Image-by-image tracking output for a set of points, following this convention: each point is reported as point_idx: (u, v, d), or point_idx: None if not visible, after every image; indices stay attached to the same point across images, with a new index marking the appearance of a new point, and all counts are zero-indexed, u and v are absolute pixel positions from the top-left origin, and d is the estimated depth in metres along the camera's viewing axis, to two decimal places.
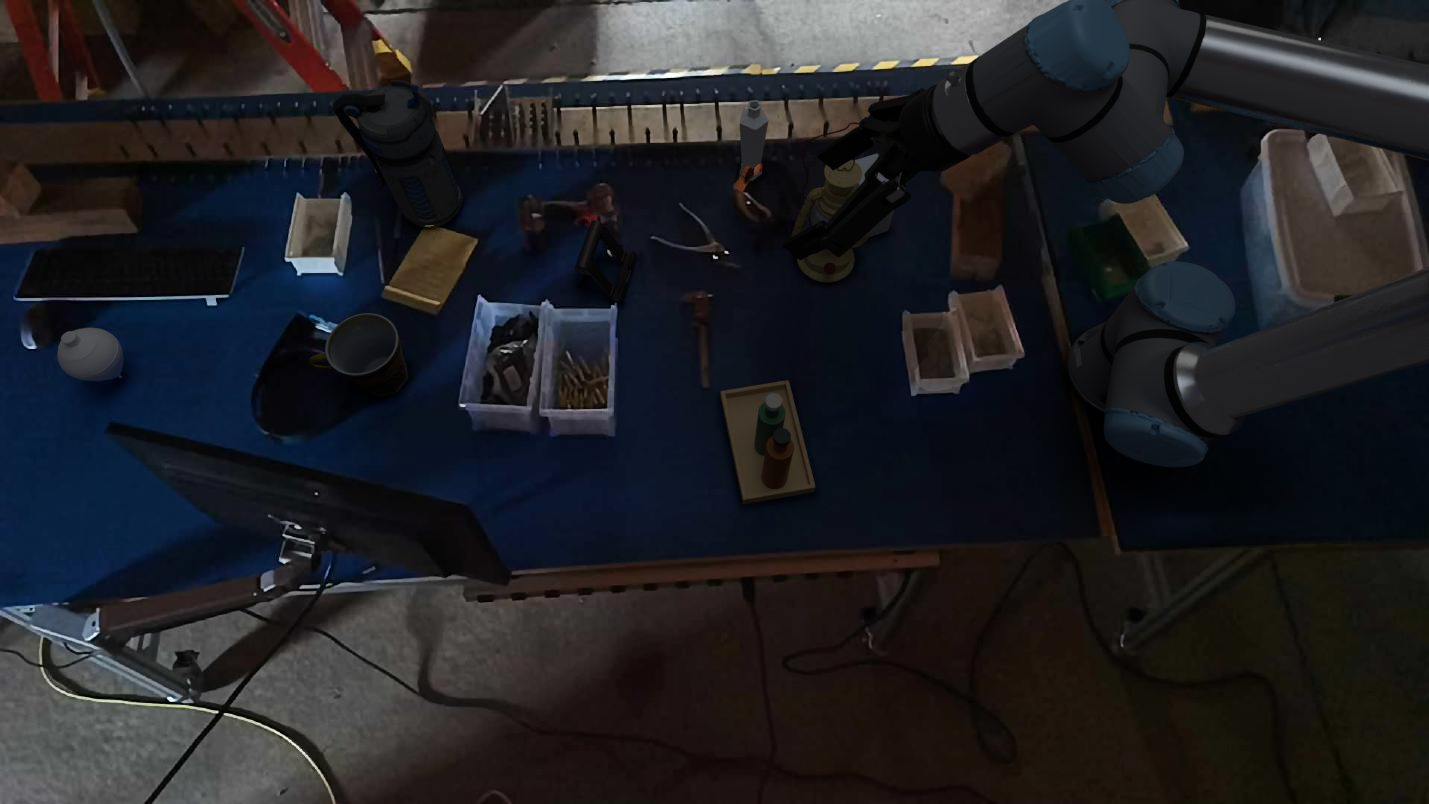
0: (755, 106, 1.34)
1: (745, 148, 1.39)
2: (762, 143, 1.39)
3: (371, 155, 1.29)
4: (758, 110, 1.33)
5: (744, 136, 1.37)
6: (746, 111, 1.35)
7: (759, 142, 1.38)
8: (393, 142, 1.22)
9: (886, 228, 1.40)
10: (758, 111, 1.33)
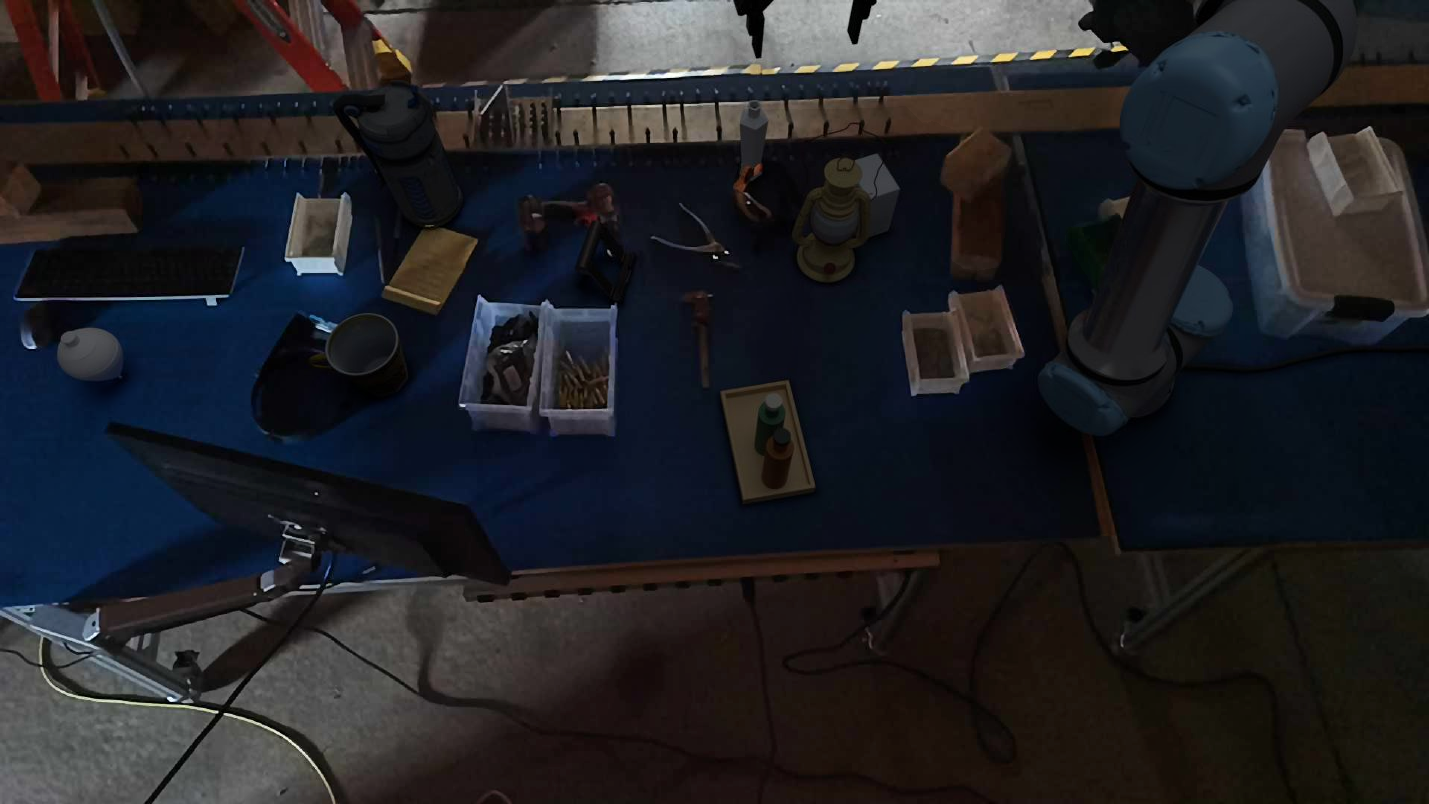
0: (755, 106, 1.34)
1: (745, 148, 1.39)
2: (762, 143, 1.39)
3: (371, 155, 1.29)
4: (758, 110, 1.33)
5: (744, 136, 1.37)
6: (746, 111, 1.35)
7: (759, 142, 1.38)
8: (393, 142, 1.22)
9: (886, 228, 1.40)
10: (758, 111, 1.33)
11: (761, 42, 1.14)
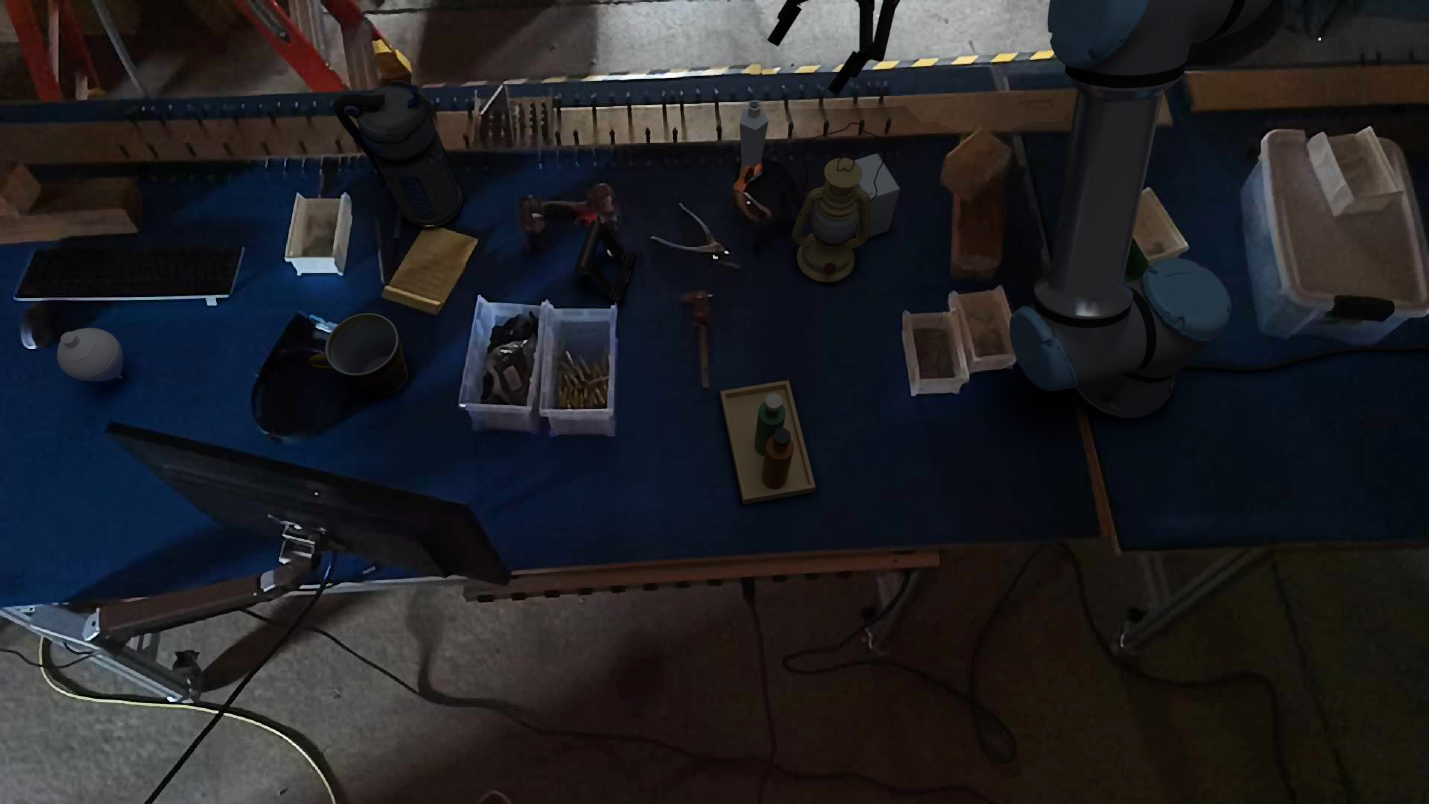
0: (755, 106, 1.34)
1: (745, 148, 1.39)
2: (762, 143, 1.39)
3: (371, 155, 1.29)
4: (758, 110, 1.33)
5: (744, 136, 1.37)
6: (746, 111, 1.35)
7: (759, 142, 1.38)
8: (393, 142, 1.22)
9: (886, 228, 1.40)
10: (758, 111, 1.33)
11: (779, 26, 1.34)
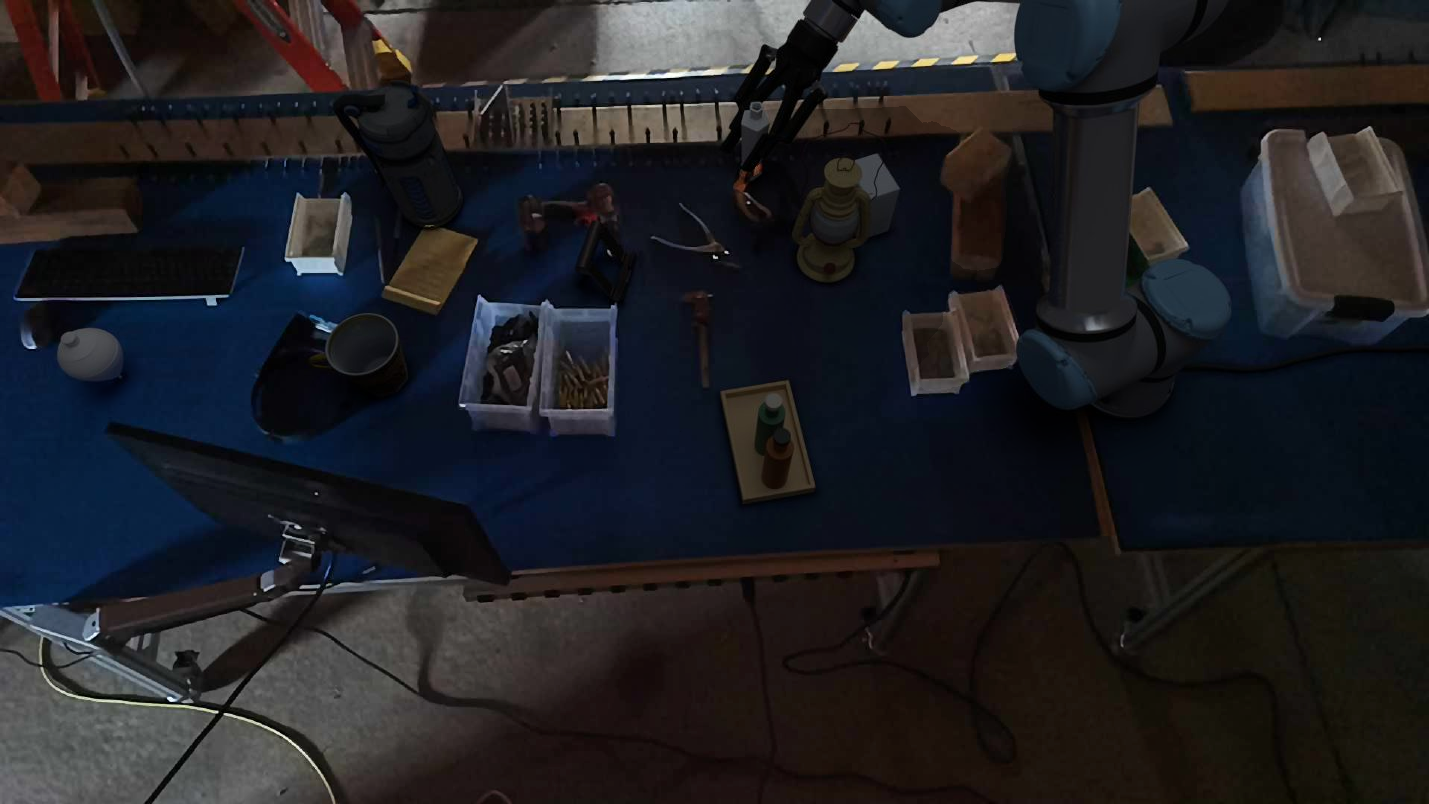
0: (757, 107, 1.34)
1: (746, 149, 1.39)
2: None
3: (371, 155, 1.29)
4: (760, 112, 1.33)
5: (745, 137, 1.37)
6: (748, 112, 1.35)
7: None
8: (393, 142, 1.22)
9: (886, 228, 1.40)
10: (760, 113, 1.33)
11: (730, 136, 1.39)
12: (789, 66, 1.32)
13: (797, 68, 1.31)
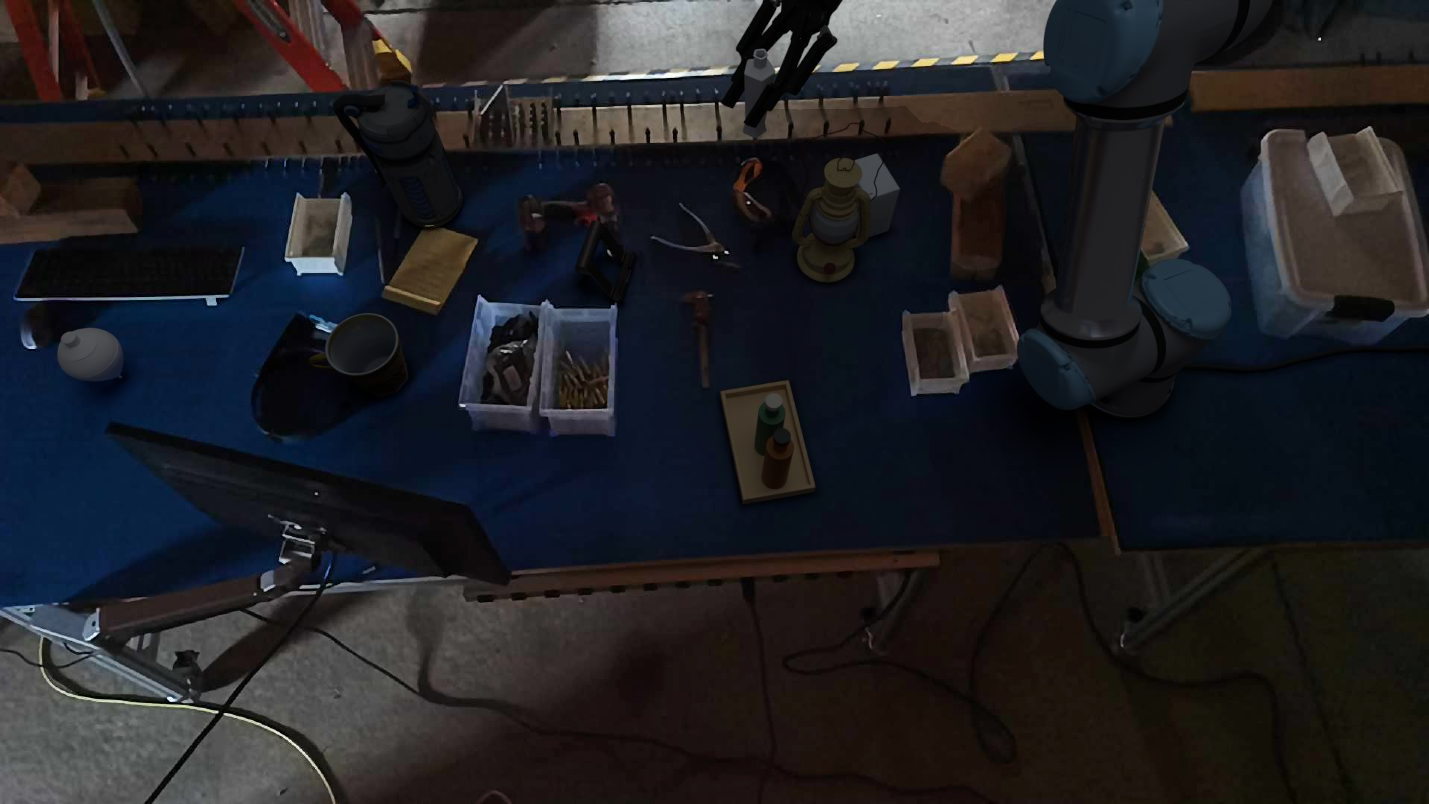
0: (761, 55, 1.25)
1: (750, 102, 1.30)
2: None
3: (371, 155, 1.29)
4: (764, 60, 1.24)
5: (749, 89, 1.28)
6: (751, 61, 1.26)
7: None
8: (393, 142, 1.22)
9: (886, 228, 1.40)
10: (764, 61, 1.24)
11: (732, 89, 1.30)
12: (795, 10, 1.23)
13: (804, 11, 1.22)
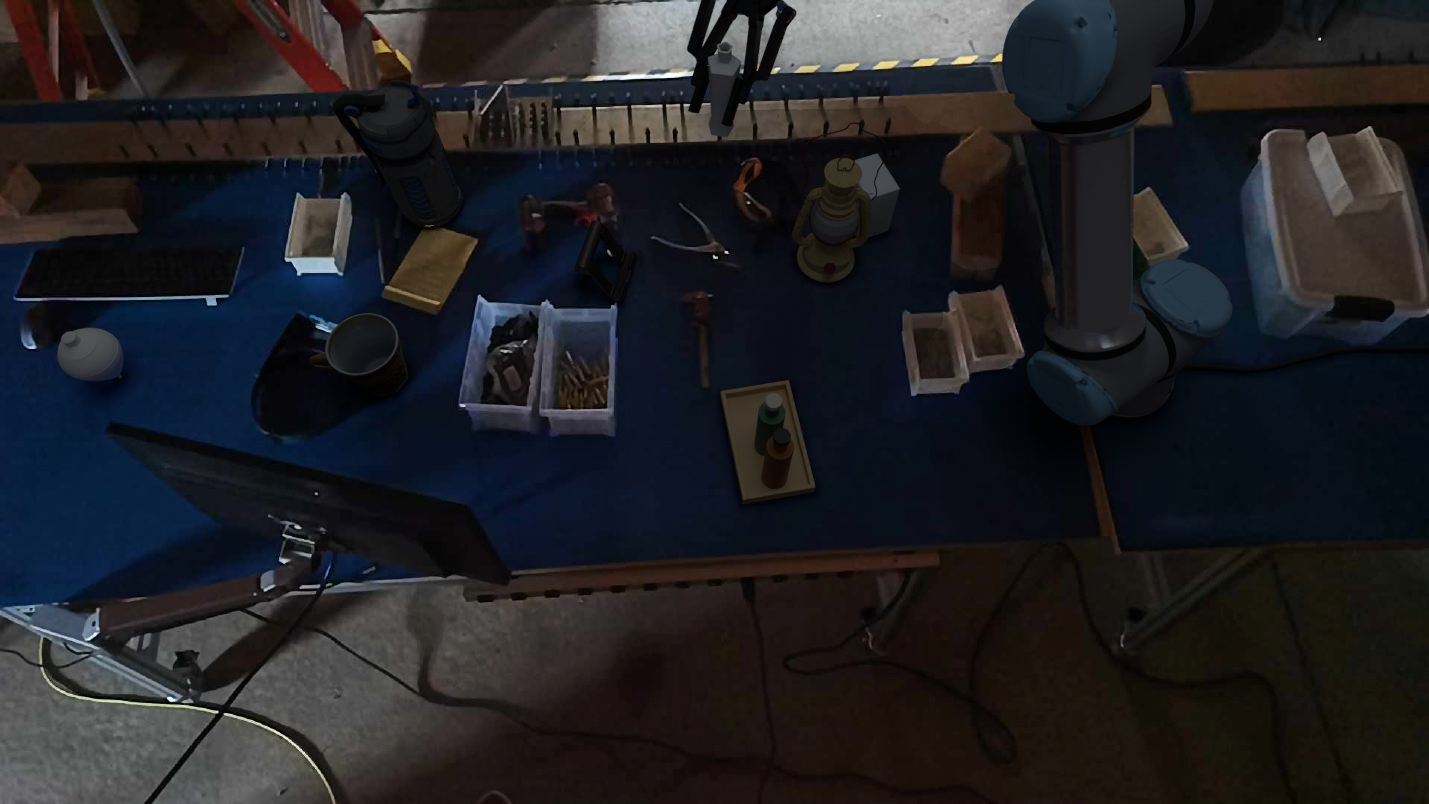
0: (723, 49, 1.16)
1: (719, 101, 1.21)
2: None
3: (371, 155, 1.29)
4: (730, 52, 1.15)
5: (717, 88, 1.19)
6: (714, 58, 1.17)
7: None
8: (393, 142, 1.22)
9: (886, 228, 1.40)
10: (730, 53, 1.15)
11: (697, 93, 1.20)
12: None
13: None
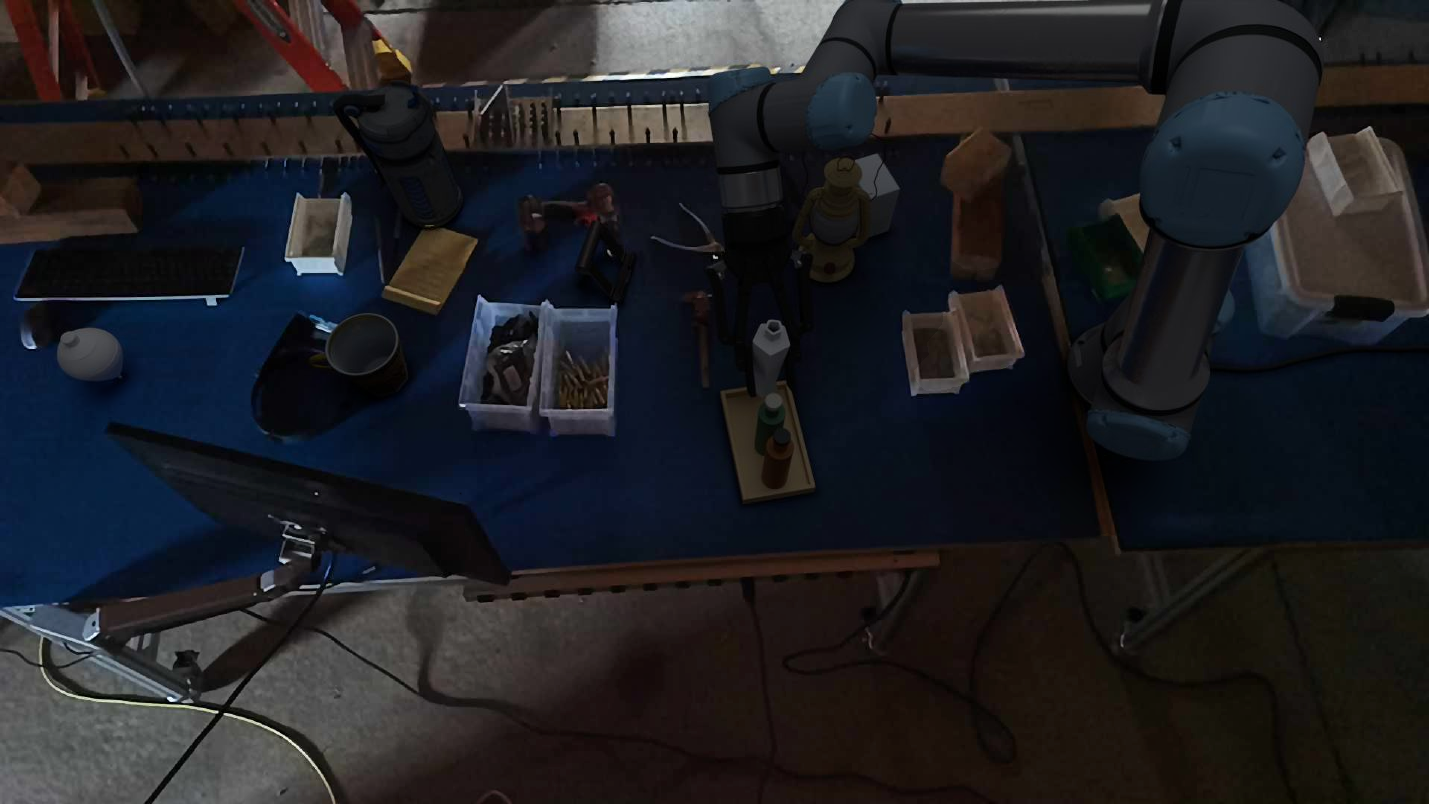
0: (767, 327, 1.05)
1: (773, 370, 1.10)
2: None
3: (371, 155, 1.29)
4: None
5: (774, 362, 1.07)
6: (761, 339, 1.05)
7: None
8: (393, 142, 1.22)
9: (886, 228, 1.40)
10: None
11: (752, 376, 1.08)
12: (755, 264, 1.04)
13: (771, 257, 1.03)
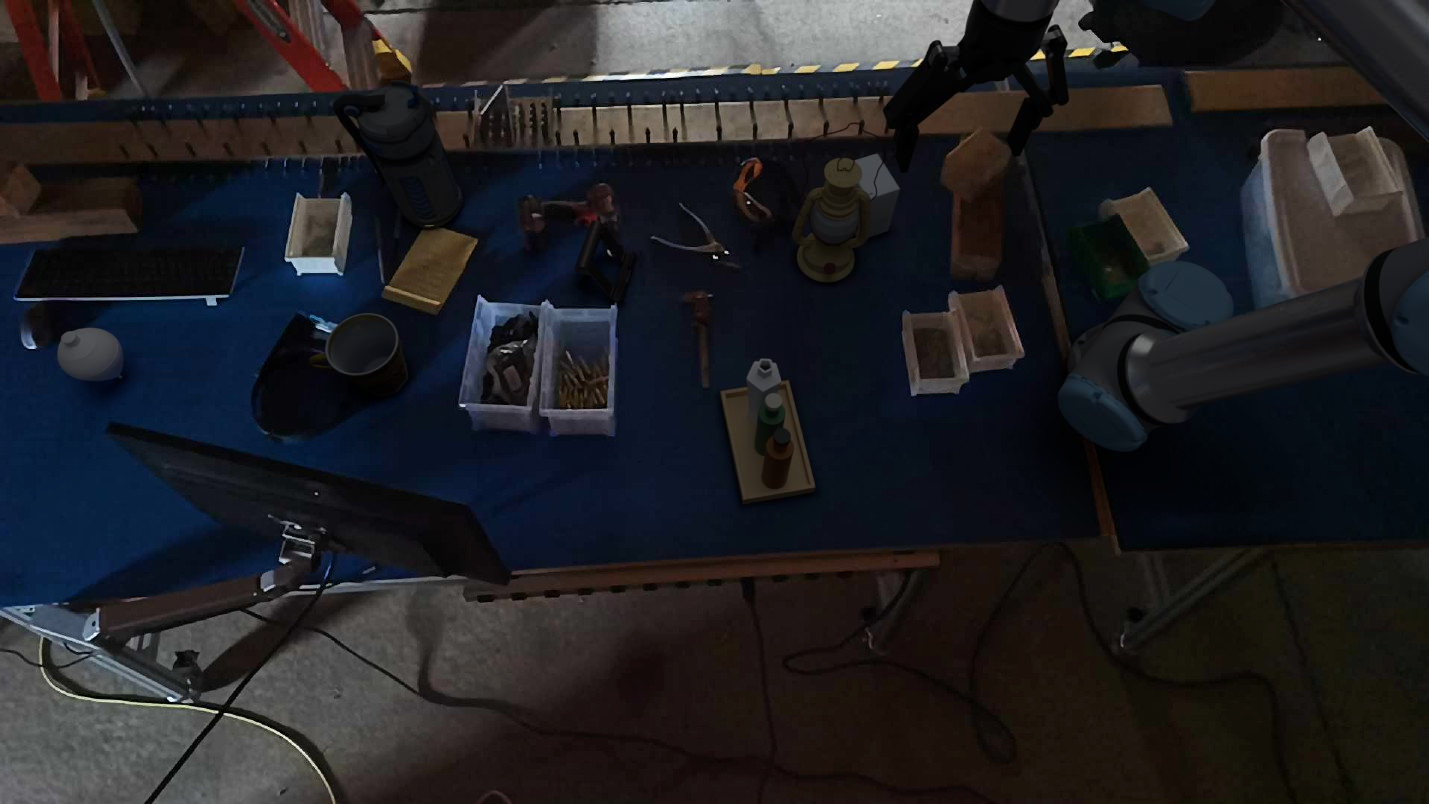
0: (760, 365, 1.13)
1: None
2: None
3: (371, 155, 1.29)
4: None
5: None
6: (754, 376, 1.14)
7: None
8: (393, 142, 1.22)
9: (886, 228, 1.40)
10: None
11: (910, 156, 0.97)
12: None
13: (1015, 62, 0.86)
